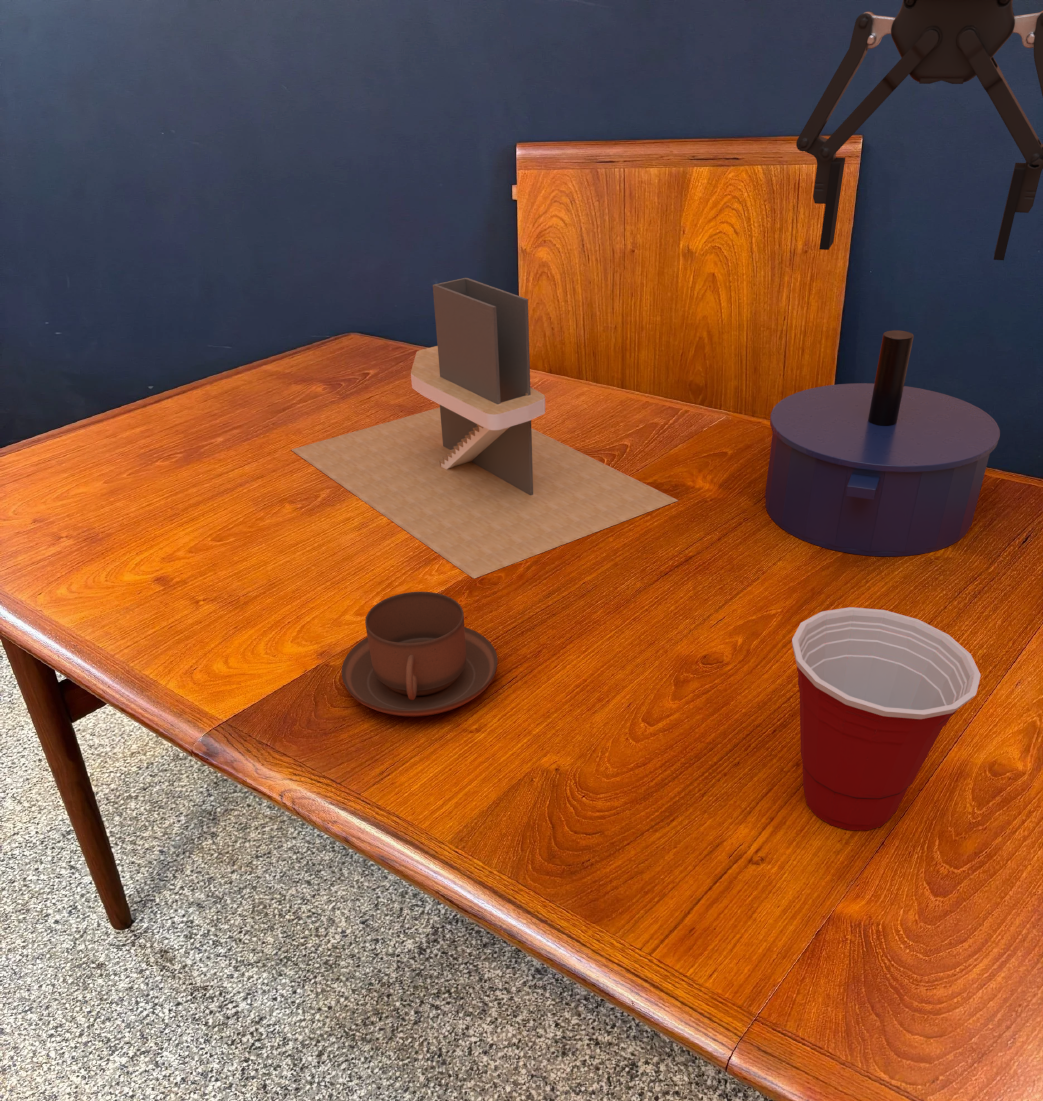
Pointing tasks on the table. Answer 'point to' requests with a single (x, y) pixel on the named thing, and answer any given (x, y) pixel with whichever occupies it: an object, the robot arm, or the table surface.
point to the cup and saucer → (418, 657)
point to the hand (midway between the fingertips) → (910, 251)
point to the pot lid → (885, 421)
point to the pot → (870, 504)
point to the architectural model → (480, 448)
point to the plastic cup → (872, 708)
